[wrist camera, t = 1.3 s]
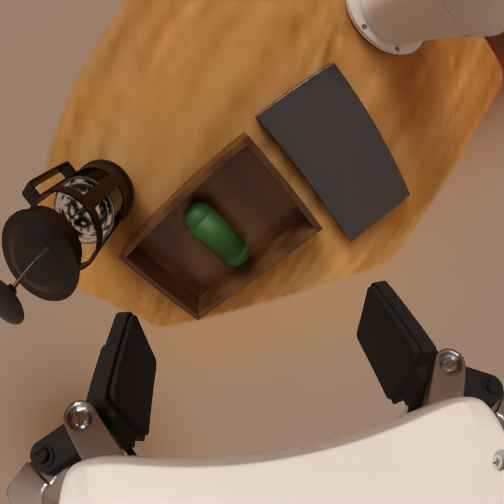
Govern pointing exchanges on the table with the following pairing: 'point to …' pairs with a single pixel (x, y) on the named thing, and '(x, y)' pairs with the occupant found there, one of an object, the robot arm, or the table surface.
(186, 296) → the brown wooden tray
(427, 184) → the table surface
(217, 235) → the cucumber
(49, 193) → the french press
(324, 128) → the board
